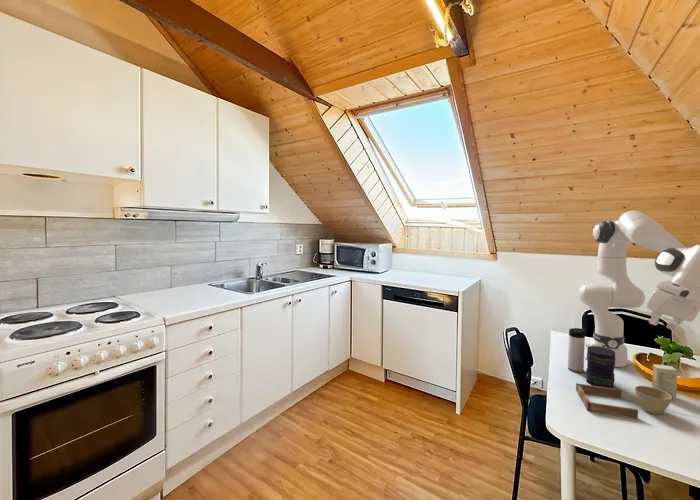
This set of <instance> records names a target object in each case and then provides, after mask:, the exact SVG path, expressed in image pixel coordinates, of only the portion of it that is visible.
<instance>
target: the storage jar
mask: <svg viewBox="0 0 700 500" xmlns="http://www.w3.org/2000/svg"><path fill="white" fill-rule="evenodd" d="M602 346H603V347H598V346H590V347H588V348H587V350H588V351H587V359H586V361H587V363H586V364H587V366H586V367H587V368H586V372H585V377H586V379H585V381H586V383H587V385H592V386H599V387H607V388H614V389H615V385H614V384H615V378H616V377H615V373H614V372H615V367H614V366H615V352H614V351H613V350H611V349H608V348H604V347H606V346H605V345H602Z"/></svg>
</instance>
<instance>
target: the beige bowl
mask: <svg viewBox="0 0 700 500" xmlns="http://www.w3.org/2000/svg"><path fill="white" fill-rule="evenodd" d="M634 392H635V397H636V398H637V401H638V404H639V405H640V406H641V408H642V409H643V411H645V412H647V413H650V414H652V415H661V414H663V413H664V412H665V411H666V410H667V409H668V407H669V406H670V404H671V402H672V399H671V398H672V397H671V395H670V394H668V393H667V392H665V391H662V390H660V389H657V388H653V387H652V386H646V385H638V386H635V387H634Z"/></svg>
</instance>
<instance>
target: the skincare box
mask: <svg viewBox="0 0 700 500" xmlns="http://www.w3.org/2000/svg"><path fill="white" fill-rule="evenodd" d="M677 378H678V370H677V369H676V368H675V367H673V366H672V365H666V364H652V379H651V380H652V381H651V382H652V383H651V387H653V388H657V389H660V390H662V391H665V392H667V393H668V394H670V395H671V397H672V398H671V400H673V401H674V400H675V401H676V400H677V388H678V387H677V386H678V385H677V384H678V383H677V381H678V379H677Z"/></svg>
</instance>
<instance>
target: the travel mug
mask: <svg viewBox="0 0 700 500" xmlns="http://www.w3.org/2000/svg"><path fill="white" fill-rule="evenodd" d="M586 330H587V329H585V328H579V327H573V328H569V329H568V346H567V347H568V349H567V351H568V352H567V354H568V355H567V369H568V370H569V371H571V372H573V373H584V370H585V369H584V367H585V356H584V348H586V336H585V335H586V332H587V331H586Z"/></svg>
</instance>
